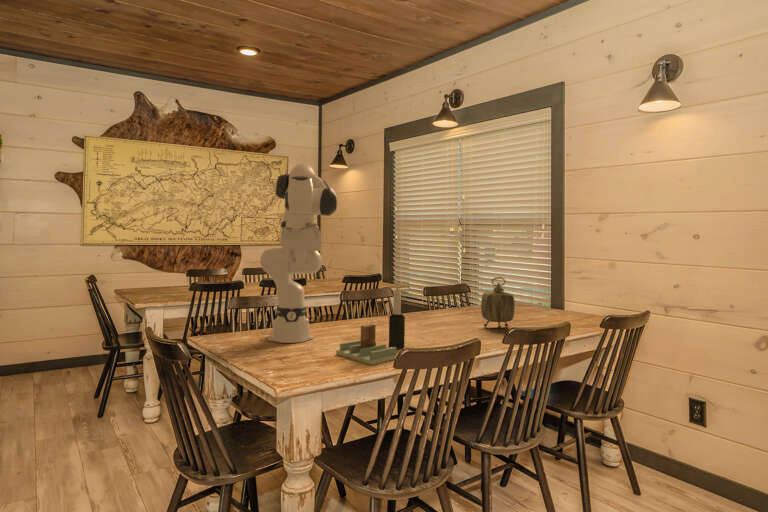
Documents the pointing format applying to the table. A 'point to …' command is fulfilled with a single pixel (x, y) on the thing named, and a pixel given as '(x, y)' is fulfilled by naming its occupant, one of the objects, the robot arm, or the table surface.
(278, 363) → the table surface
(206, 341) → the table surface
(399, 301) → the candle
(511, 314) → the tabletop clock
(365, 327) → the block
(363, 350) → the rack
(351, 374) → the table surface
